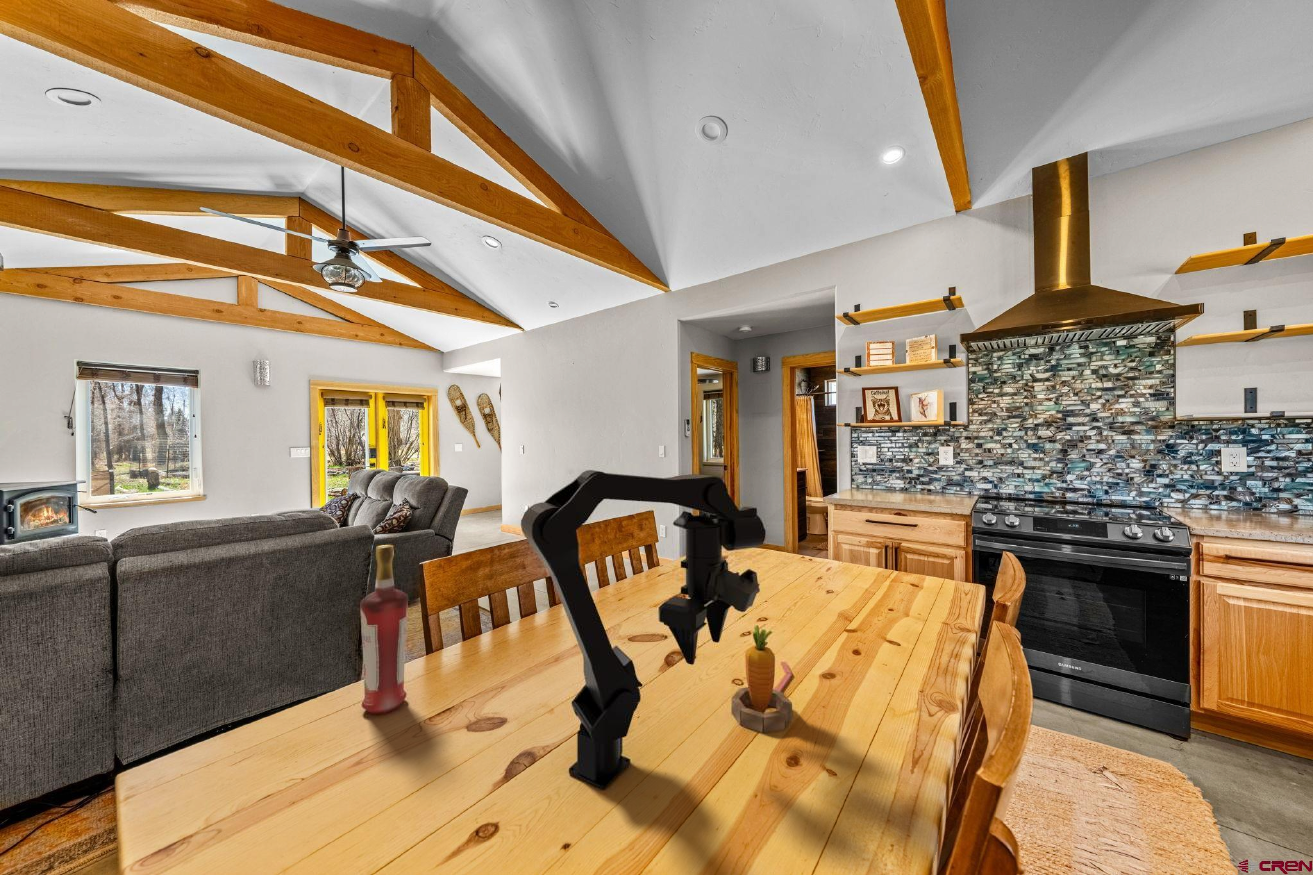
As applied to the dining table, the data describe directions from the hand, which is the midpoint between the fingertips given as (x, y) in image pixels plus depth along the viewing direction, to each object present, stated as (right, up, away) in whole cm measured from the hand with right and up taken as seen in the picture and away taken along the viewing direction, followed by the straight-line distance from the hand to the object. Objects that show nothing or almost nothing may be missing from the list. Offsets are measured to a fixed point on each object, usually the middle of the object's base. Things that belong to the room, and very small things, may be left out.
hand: (703, 652), depth 78 cm
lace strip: (+16, -13, +17) cm, 26 cm away
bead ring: (+10, -13, +5) cm, 17 cm away
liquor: (-55, -13, +8) cm, 57 cm away
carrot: (+10, -13, +5) cm, 18 cm away
